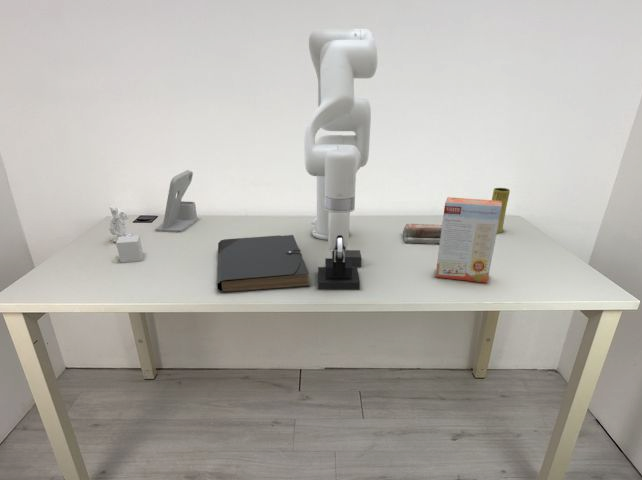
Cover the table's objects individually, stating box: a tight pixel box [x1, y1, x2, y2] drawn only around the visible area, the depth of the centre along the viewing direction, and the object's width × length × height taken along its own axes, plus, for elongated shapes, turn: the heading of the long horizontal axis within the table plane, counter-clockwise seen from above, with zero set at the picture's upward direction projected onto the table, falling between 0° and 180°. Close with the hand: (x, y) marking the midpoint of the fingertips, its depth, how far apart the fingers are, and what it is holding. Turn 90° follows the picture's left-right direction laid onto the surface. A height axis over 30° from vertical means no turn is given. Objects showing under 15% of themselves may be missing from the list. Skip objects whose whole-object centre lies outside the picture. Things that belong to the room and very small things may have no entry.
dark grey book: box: [216, 234, 310, 294], centre depth 136 cm, size 33×4×24 cm
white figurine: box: [108, 205, 133, 243], centre depth 154 cm, size 8×7×12 cm
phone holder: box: [155, 169, 199, 233], centre depth 168 cm, size 17×10×18 cm, turn 172°
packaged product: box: [402, 223, 442, 245], centre depth 158 cm, size 18×5×10 cm
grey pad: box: [345, 249, 362, 268], centre depth 139 cm, size 6×6×3 cm
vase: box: [491, 187, 511, 234], centre depth 164 cm, size 6×6×14 cm
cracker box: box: [435, 196, 502, 284], centre depth 126 cm, size 14×6×21 cm, turn 71°
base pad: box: [317, 266, 361, 290], centre depth 128 cm, size 11×11×2 cm
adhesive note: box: [115, 234, 144, 263], centre depth 142 cm, size 6×6×6 cm
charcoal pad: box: [324, 257, 352, 278], centre depth 126 cm, size 7×7×3 cm
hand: (338, 269), depth 126 cm, fingers closed on charcoal pad, 7 cm apart
